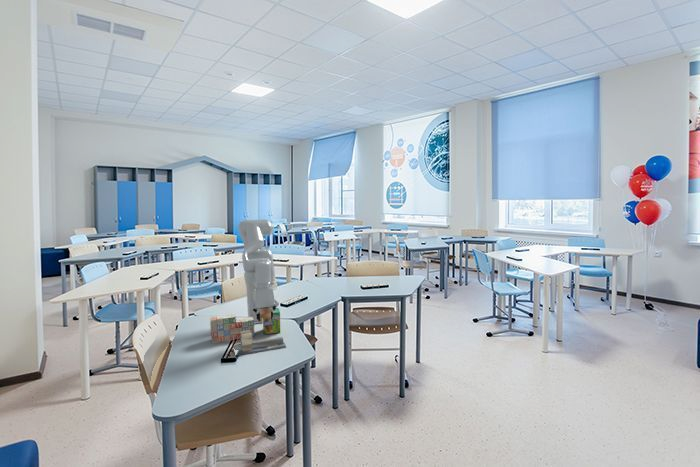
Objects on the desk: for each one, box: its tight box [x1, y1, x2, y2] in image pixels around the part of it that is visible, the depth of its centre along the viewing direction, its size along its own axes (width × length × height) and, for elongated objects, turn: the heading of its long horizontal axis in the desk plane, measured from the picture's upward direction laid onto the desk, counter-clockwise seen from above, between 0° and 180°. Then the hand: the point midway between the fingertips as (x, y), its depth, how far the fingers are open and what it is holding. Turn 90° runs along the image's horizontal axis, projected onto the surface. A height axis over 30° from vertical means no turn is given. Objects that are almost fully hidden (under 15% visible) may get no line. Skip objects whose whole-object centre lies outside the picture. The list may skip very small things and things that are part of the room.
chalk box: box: [262, 304, 281, 335], centre depth 205 cm, size 9×9×15 cm
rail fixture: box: [233, 330, 287, 357], centre depth 182 cm, size 9×24×9 cm, turn 112°
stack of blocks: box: [209, 313, 256, 344], centre depth 196 cm, size 21×6×12 cm, turn 111°
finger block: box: [259, 307, 271, 325], centre depth 193 cm, size 5×5×8 cm
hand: (264, 319), depth 193 cm, fingers closed on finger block, 5 cm apart
